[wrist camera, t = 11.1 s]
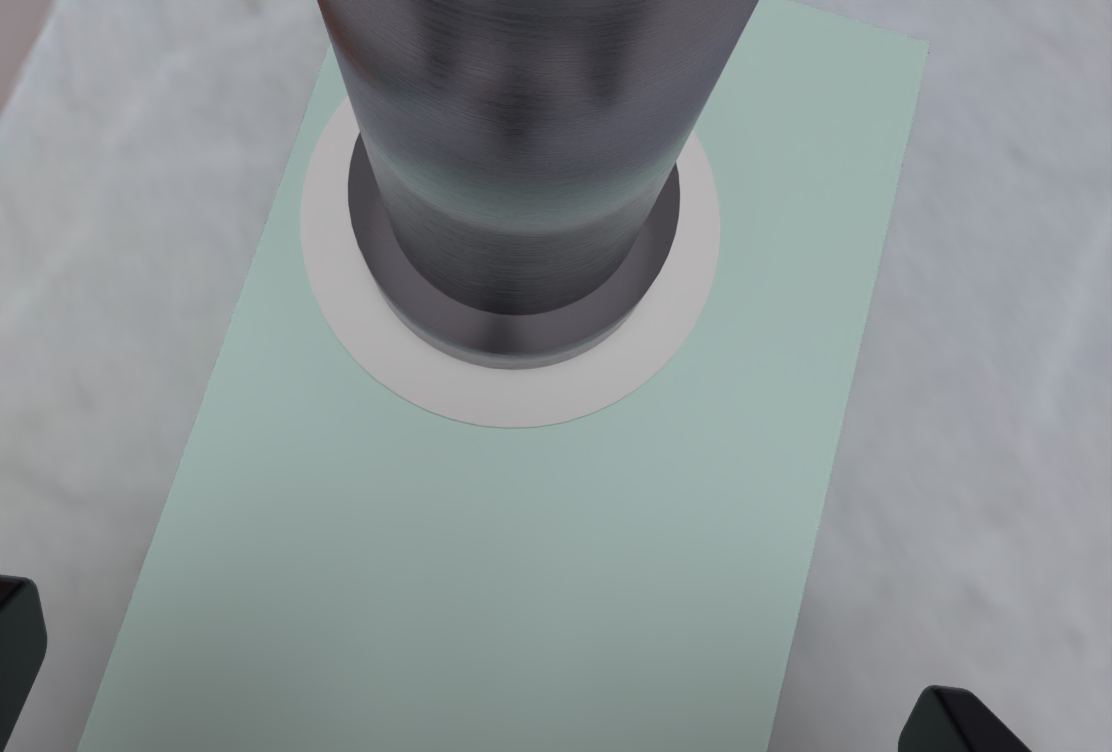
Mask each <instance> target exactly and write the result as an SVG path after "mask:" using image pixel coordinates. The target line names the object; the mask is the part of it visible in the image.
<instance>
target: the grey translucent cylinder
mask: <svg viewBox="0 0 1112 752" xmlns="http://www.w3.org/2000/svg"><path fill="white" fill-rule="evenodd" d="M317 1H318V4H319V7H320V10H321V13H322V16H323V19H324V23H325V26H326V29H327V32H328V35H329V38H330V41H331V44H332V47H333V50H334V53H335V56H336V59H337V62H338V65H339V69H340V72H341V75H342V78H343V81H344V84H345V87H346V90H347V93H348V96H349V99H350V102H351V105H352V108H353V111H354V114H355V118H356V121H357V124H358V127H359V130H360V132H359V135H358V137H357V139H356V142H355V145H354V149H353V153H352V157H351V161H350V168H349V176H348V206H349V212H350V218H351V225H352V228H353V231H354V235H355V238H356V241H357V244H358V247H359V249H360V251H361V253H362V255H363V258H364V260H365V262H366V264H367V266H368V268H369V270H370V273H371V275H372V277H373V279H374V281H375V283H376V285H377V288H378V290H379V292H380V293H381V295H382V297H383V298H384V300H385V301H386V303H387V304H388V306H389V307H390V309H391V310H392V311H393V312H394V314H395V315H396V316H397V317H398V318H399V319H400V321H401V322H402V323H403V324H404V325H405V326H406V327H407V328H409V329H410V330H411V331H412V332H413V333H414V334H415V335H416V336H417V337H419V338H420V339H422V340H423V341H425V342H426V343H428V344H429V345H430V346H432V347H433V348H435V349H437V350H439V351H441V352H443V353H445V354H447V355H449V356H451V357H453V358H456V359H458V360H461V361H464V362H467V363H470V364H473V365H478V366H483V367H487V368H493V369H505V370H522V369H534V368H540V367H546V366H551V365H554V364H558V363H561V362H564V361H567V360H570V359H572V358H574V357H576V356H579V355H581V354H583V353H585V352H587V351H589V350H590V349H592V348H594V347H595V346H597V345H598V344H600V343H601V342H603V341H604V340H606V339H607V338H608V337H609V336H610V335H612V334H613V333H614V332H615V331H616V330H617V329H619V328H620V326H621V325H622V324H623V323H624V322H625V321H626V320H627V319H628V318H629V316H630V315H631V314H632V313H633V311H634V310H635V308H636V307H637V305H638V304H639V303H640V301H641V300H642V298H643V297H644V295H645V294H646V292H647V291H648V289H649V288H650V286H651V285H652V283H653V282H654V280H655V279H656V278H657V276H658V275H659V273H660V271H661V269H662V267H663V265H664V263H665V261H666V259H667V257H668V255H669V252H670V249H671V246H672V243H673V240H674V238H675V234H676V229H677V224H678V219H679V210H680V184H679V173H678V169H677V164H676V161H677V159H678V157H679V155H680V153H681V151H682V149H683V147H684V145H685V143H686V141H687V139H688V137H689V135H690V133H691V131H692V129H693V128H694V126H695V124H696V122H697V120H698V118H699V116H700V114H701V112H702V110H703V108H704V106H705V104H706V102H707V100H708V98H709V97H710V95H711V93H712V91H713V89H714V87H715V85H716V83H717V81H718V79H719V77H720V75H721V73H722V71H723V69H724V67H725V65H726V64H727V62H728V60H729V58H730V56H731V54H732V52H733V50H734V48H735V46H736V44H737V42H738V40H739V38H740V36H741V34H742V32H743V31H744V29H745V27H746V25H747V23H748V21H749V19H750V17H751V15H752V13H753V11H754V9H755V7H756V5H757V3H758V1H759V0H317Z"/></svg>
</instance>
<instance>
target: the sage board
mask: <svg viewBox="0 0 1112 752" xmlns="http://www.w3.org/2000/svg"><path fill="white" fill-rule="evenodd" d="M929 46H930V43H928V42H925V41H922V40H918V39H915V38H912V37H909V36H905V35H902V34H899V33H896V32H892V31H889V30H886V29H883V28H879V27H876V26H873V25H869V24H866V23H863V22H860V21H856V20H853V19H850V18H847V17H843V16H840V15H837V14H834V13H830V12H827V11H824V10H820V9H817V8H814V7H811V6H807V5H804V4H801V3H798V2H794V1H791V0H759V1H758V3H757V5H756V7H755V9H754V11H753V13H752V15H751V17H750V19H749V21H748V23H747V25H746V27H745V29H744V31H743V32H742V34H741V36H740V38H739V40H738V42H737V44H736V46H735V48H734V50H733V52H732V54H731V56H730V58H729V60H728V62H727V64H726V65H725V67H724V69H723V71H722V73H721V75H720V77H719V79H718V81H717V83H716V85H715V87H714V89H713V91H712V93H711V95H710V97H709V98H708V100H707V102H706V104H705V106H704V108H703V110H702V112H701V114H700V116H699V118H698V120H697V122H696V124H695V126H694V128H693V129H692V131H691V133H690V135H689V137H688V139H687V141H686V143H685V145H684V147H683V149H682V151H681V153H680V155H679V157H678V159H677V161H676V164H677V169H678V173H679V184H680V210H679V219H678V224H677V229H676V234H675V238H674V240H673V243H672V246H671V249H670V252H669V255H668V257H667V259H666V261H665V263H664V265H663V267H662V269H661V271H660V273H659V275H658V276H657V278H656V279H655V280H654V282H653V283H652V285H651V286H650V288H649V289H648V291H647V292H646V294H645V295H644V297H643V298H642V300H641V301H640V303H639V304H638V305H637V307H636V308H635V310H634V311H633V313H632V314H631V315H630V316H629V318H628V319H627V320H626V321H625V322H624V323H623V324H622V325H621V326H620V328H619V329H617V330H616V331H615V332H614V333H613V334H612V335H610V336H609V337H608V338H607V339H606V340H604V341H603V342H601V343H600V344H598V345H597V346H595V347H594V348H592V349H590V350H589V351H587V352H585V353H583V354H581V355H579V356H576V357H574V358H572V359H570V360H567V361H564V362H561V363H558V364H554V365H551V366H546V367H540V368H534V369H522V370H505V369H493V368H487V367H483V366H478V365H473V364H470V363H467V362H464V361H461V360H458V359H456V358H453V357H451V356H449V355H447V354H445V353H443V352H441V351H439V350H437V349H435V348H433V347H432V346H430V345H429V344H428V343H426V342H425V341H423V340H422V339H420V338H419V337H417V336H416V335H415V334H414V333H413V332H412V331H411V330H410V329H409V328H407V327H406V326H405V325H404V324H403V323H402V322H401V321H400V319H399V318H398V317H397V316H396V315H395V314H394V312H393V311H392V310H391V309H390V307H389V306H388V304H387V303H386V301H385V300H384V298H383V297H382V295H381V293H380V292H379V290H378V288H377V285H376V283H375V281H374V279H373V277H372V275H371V273H370V270H369V268H368V266H367V264H366V262H365V260H364V258H363V255H362V253H361V251H360V249H359V247H358V244H357V241H356V238H355V235H354V231H353V228H352V225H351V218H350V212H349V206H348V176H349V168H350V161H351V157H352V153H353V149H354V145H355V142H356V139H357V137H358V135H359V132H360V130H359V127H358V124H357V121H356V118H355V114H354V111H353V108H352V105H351V102H350V99H349V96H348V93H347V90H346V87H345V84H344V81H343V78H342V75H341V72H340V69H339V65H338V62H337V59H336V56H335V53H334V50H333V47H332V44H331V42H330V45H329V47H328V50H327V53H326V56H325V58H324V61H323V64H322V67H321V70H320V72H319V75H318V78H317V81H316V84H315V86H314V89H313V92H312V95H311V98H310V100H309V103H308V106H307V109H306V111H305V114H304V117H303V120H302V123H301V125H300V128H299V131H298V134H297V137H296V139H295V142H294V145H293V148H292V150H291V153H290V156H289V159H288V162H287V164H286V167H285V170H284V173H283V176H282V178H281V181H280V184H279V187H278V190H277V192H276V195H275V198H274V201H273V203H272V206H271V209H270V212H269V215H268V217H267V220H266V223H265V226H264V229H263V231H262V234H261V237H260V240H259V243H258V245H257V248H256V251H255V254H254V256H253V259H252V262H251V265H250V268H249V270H248V273H247V276H246V279H245V282H244V284H243V287H242V290H241V293H240V296H239V298H238V301H237V304H236V307H235V309H234V312H233V315H232V318H231V321H230V323H229V326H228V329H227V332H226V335H225V337H224V340H223V343H222V346H221V348H220V351H219V354H218V357H217V360H216V362H215V365H214V368H213V371H212V374H211V376H210V379H209V382H208V385H207V388H206V390H205V393H204V396H203V399H202V401H201V404H200V407H199V410H198V413H197V415H196V418H195V421H194V424H193V427H192V429H191V432H190V435H189V438H188V441H187V443H186V446H185V449H184V452H183V454H182V457H181V460H180V463H179V466H178V468H177V471H176V474H175V477H174V480H173V482H172V485H171V488H170V491H169V494H168V496H167V499H166V502H165V505H164V507H163V510H162V513H161V516H160V519H159V521H158V524H157V527H156V530H155V533H154V535H153V538H152V541H151V544H150V546H149V549H148V552H147V555H146V558H145V560H144V563H143V566H142V569H141V572H140V574H139V577H138V580H137V583H136V586H135V588H134V591H133V594H132V597H131V599H130V602H129V605H128V608H127V611H126V613H125V616H124V619H123V622H122V625H121V627H120V630H119V633H118V636H117V639H116V641H115V644H114V647H113V650H112V652H111V655H110V658H109V661H108V664H107V666H106V669H105V672H104V675H103V678H102V680H101V683H100V686H99V689H98V692H97V694H96V697H95V700H94V703H93V705H92V708H91V711H90V714H89V717H88V719H87V722H86V725H85V728H84V731H83V733H82V736H81V739H80V742H79V744H78V747H77V750H76V752H767V749H768V745H769V741H770V736H771V732H772V728H773V723H774V719H775V715H776V710H777V706H778V702H779V697H780V693H781V689H782V684H783V680H784V675H785V671H786V667H787V662H788V658H789V654H790V649H791V645H792V641H793V636H794V632H795V628H796V623H797V619H798V615H799V610H800V606H801V602H802V597H803V593H804V589H805V584H806V580H807V576H808V571H809V567H810V563H811V558H812V554H813V550H814V545H815V541H816V537H817V532H818V528H819V524H820V519H821V515H822V510H823V506H824V502H825V497H826V493H827V489H828V484H829V480H830V476H831V471H832V467H833V463H834V458H835V454H836V450H837V445H838V441H839V437H840V432H841V428H842V424H843V419H844V415H845V411H846V406H847V402H848V398H849V393H850V389H851V385H852V380H853V376H854V372H855V367H856V363H857V358H858V354H859V350H860V345H861V341H862V337H863V332H864V328H865V324H866V319H867V315H868V311H869V306H870V302H871V298H872V293H873V289H874V285H875V280H876V276H877V272H878V267H879V263H880V259H881V254H882V250H883V246H884V241H885V237H886V233H887V228H888V224H889V220H890V215H891V211H892V207H893V202H894V198H895V193H896V189H897V185H898V180H899V176H900V172H901V167H902V163H903V159H904V154H905V150H906V146H907V141H908V137H909V133H910V128H911V124H912V120H913V115H914V111H915V107H916V102H917V98H918V94H919V89H920V85H921V81H922V76H923V72H924V68H925V63H926V59H927V55H928V50H929Z"/></svg>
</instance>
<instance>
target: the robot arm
mask: <svg viewBox="0 0 1112 752" xmlns="http://www.w3.org/2000/svg"><path fill="white" fill-rule="evenodd" d="M46 648H47V632H46V627H45V622H44V617H43V612H42V607H41V602H40V598H39V593H38V589H37V586H36V584H35V583H34V582H33V581H32V580H31V579H28V578H25V577H16V576H8V575H0V752H3V751H4V749H5V747H6V745H7V742H8V740H9V738H10V736H11V733H12V731H13V729H14V726H15V724H16V722H17V720H18V717H19V715H20V713H21V710H22V708H23V706H24V704H25V701H26V699H27V697H28V694H29V692H30V690H31V688H32V685H33V683H34V681H35V679H36V676H37V674H38V672H39V669H40V667H41V665H42V662H43V660H44V657H45V653H46ZM898 752H1032V751H1031V750H1030V749H1029V748H1028V747H1027V746H1026V745H1025V744H1024V743H1023V742H1022V741H1021V740H1020V739H1019V738H1018V737H1017V736H1016V735H1015V734H1014V733H1013V732H1012V731H1011V730H1010V729H1009V728H1008V727H1007V726H1006V725H1005V724H1004V723H1003V722H1002V721H1001V720H1000V719H999V718H998V717H997V716H995V715H994V714H993V713H992V712H991V711H990V710H989V709H988V708H987V707H986V706H985V705H984V704H983V703H982V702H981V701H980V700H979V699H978V698H977V697H976V696H975V695H974V694H973V693H971V692H970V691H968V690H966V689H963V688H955V687H947V686H938V685H931V686H928V687H927V688H925V689H924V690H923V691H922V693H921V695H920V697H919V699H918V701H917V703H916V704H915V706H914V708H913V710H912V712H911V714H910V716H909V718H908V720H907V722H906V724H905V726H904V728H903V730H902V732H901V735H900V738H899V742H898Z"/></svg>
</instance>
